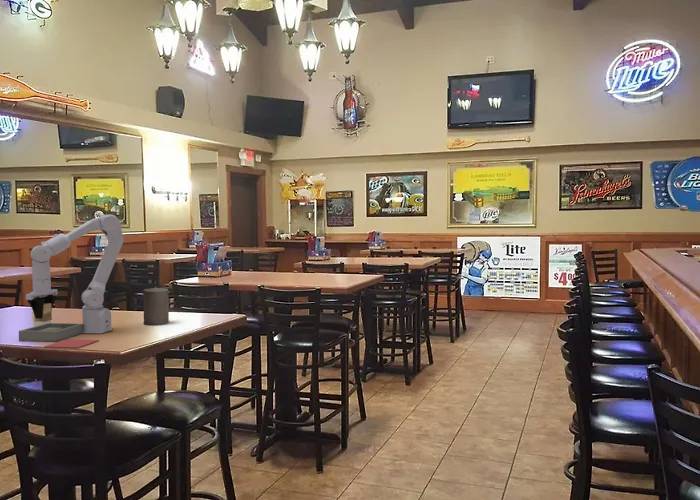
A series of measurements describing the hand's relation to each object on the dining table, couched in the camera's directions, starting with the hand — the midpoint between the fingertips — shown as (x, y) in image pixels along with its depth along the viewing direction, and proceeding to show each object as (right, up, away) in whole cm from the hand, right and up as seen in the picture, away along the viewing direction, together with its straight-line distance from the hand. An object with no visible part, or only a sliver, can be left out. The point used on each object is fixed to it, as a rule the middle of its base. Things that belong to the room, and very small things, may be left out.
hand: (43, 317), depth 213 cm
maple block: (0, -1, 0) cm, 1 cm away
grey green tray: (+3, -7, 0) cm, 8 cm away
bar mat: (+17, -7, -13) cm, 23 cm away
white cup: (-8, -6, +16) cm, 19 cm away
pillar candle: (+32, -6, +27) cm, 42 cm away
